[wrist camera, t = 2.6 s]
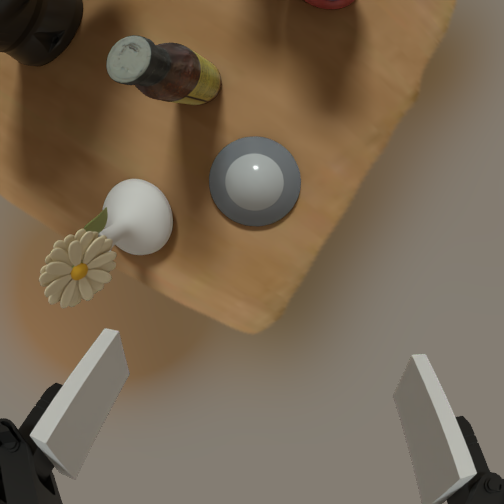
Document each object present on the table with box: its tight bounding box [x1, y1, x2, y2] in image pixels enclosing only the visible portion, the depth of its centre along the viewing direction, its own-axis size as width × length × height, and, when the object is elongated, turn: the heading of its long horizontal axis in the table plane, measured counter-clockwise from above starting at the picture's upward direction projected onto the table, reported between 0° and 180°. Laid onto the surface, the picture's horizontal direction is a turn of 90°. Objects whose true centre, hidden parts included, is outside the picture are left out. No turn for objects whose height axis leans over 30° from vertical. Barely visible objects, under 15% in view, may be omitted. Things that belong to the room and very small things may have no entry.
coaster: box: [209, 137, 301, 226], centre depth 40 cm, size 12×12×1 cm
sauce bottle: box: [106, 35, 222, 105], centre depth 27 cm, size 6×6×20 cm
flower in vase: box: [39, 179, 173, 308], centre depth 32 cm, size 13×11×25 cm
